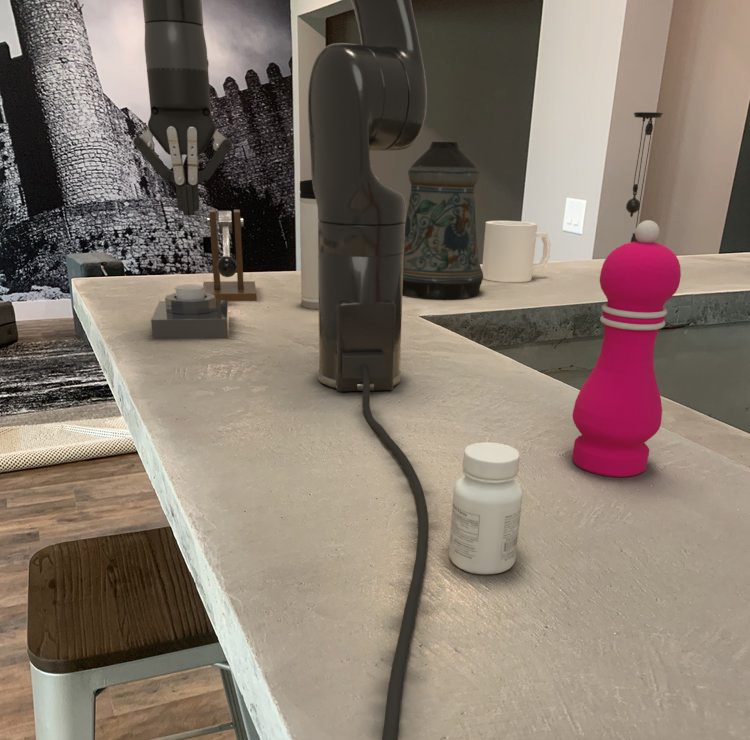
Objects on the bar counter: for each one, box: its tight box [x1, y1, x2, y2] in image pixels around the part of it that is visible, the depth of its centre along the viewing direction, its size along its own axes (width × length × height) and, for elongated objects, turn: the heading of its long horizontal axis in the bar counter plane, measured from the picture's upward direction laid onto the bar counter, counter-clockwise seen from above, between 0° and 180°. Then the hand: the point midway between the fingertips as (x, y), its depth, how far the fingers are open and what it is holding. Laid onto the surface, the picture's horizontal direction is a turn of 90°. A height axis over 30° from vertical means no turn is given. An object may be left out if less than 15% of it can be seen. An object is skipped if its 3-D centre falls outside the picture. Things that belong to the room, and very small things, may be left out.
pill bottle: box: [448, 441, 524, 575], centre depth 49 cm, size 4×4×8 cm
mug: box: [481, 220, 552, 283], centre depth 155 cm, size 14×10×11 cm
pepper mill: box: [571, 219, 682, 478], centre depth 62 cm, size 7×7×20 cm
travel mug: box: [299, 179, 319, 310], centre depth 122 cm, size 6×7×20 cm
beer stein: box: [402, 141, 483, 300], centre depth 137 cm, size 16×19×25 cm
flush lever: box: [217, 210, 237, 278], centre depth 125 cm, size 14×3×3 cm
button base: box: [150, 292, 230, 340], centre depth 109 cm, size 13×10×4 cm
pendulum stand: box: [202, 208, 258, 302], centre depth 131 cm, size 12×9×14 cm
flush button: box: [174, 283, 205, 300], centre depth 107 cm, size 4×4×2 cm
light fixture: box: [625, 111, 664, 242], centre depth 163 cm, size 10×8×31 cm
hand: (189, 214), depth 103 cm, fingers closed
